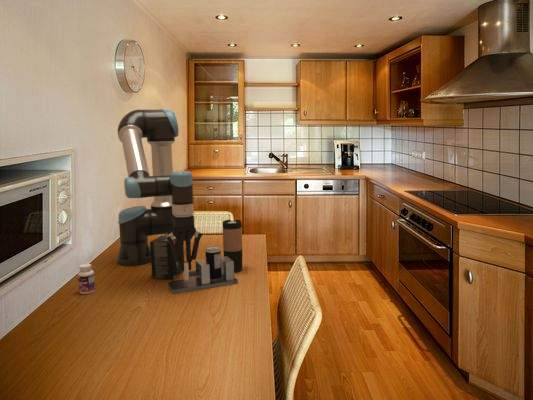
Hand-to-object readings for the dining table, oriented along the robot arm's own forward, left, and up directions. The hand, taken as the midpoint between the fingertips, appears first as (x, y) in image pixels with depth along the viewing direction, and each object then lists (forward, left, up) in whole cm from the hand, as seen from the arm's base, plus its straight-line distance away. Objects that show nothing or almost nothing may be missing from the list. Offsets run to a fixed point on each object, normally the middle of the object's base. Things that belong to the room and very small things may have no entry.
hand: (186, 279), depth 168 cm
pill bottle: (-11, -33, -3) cm, 35 cm away
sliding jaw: (0, +4, -2) cm, 4 cm away
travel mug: (-11, +22, -3) cm, 25 cm away
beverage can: (0, +11, -2) cm, 11 cm away
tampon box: (-17, -3, -3) cm, 18 cm away
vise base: (0, +6, -3) cm, 7 cm away
